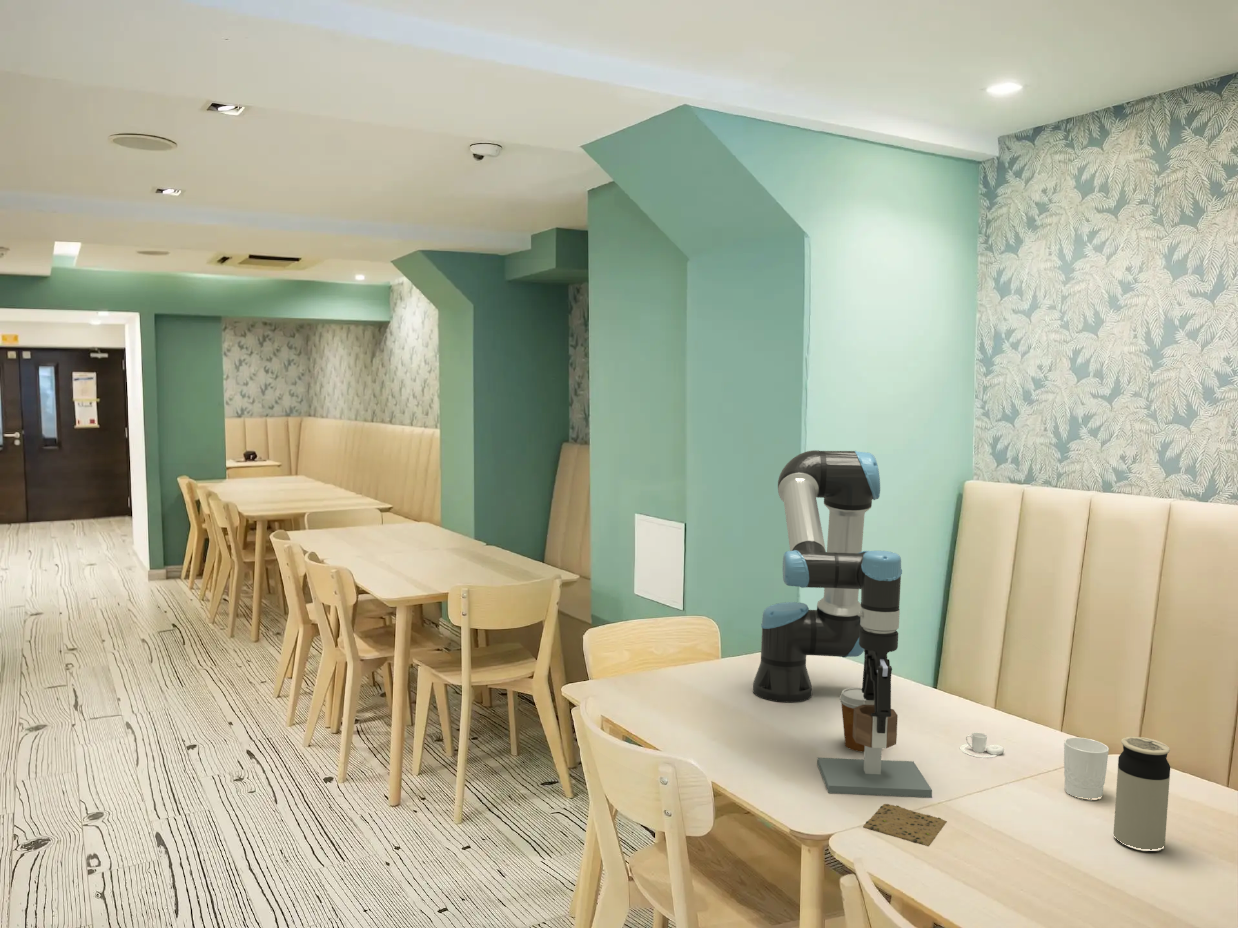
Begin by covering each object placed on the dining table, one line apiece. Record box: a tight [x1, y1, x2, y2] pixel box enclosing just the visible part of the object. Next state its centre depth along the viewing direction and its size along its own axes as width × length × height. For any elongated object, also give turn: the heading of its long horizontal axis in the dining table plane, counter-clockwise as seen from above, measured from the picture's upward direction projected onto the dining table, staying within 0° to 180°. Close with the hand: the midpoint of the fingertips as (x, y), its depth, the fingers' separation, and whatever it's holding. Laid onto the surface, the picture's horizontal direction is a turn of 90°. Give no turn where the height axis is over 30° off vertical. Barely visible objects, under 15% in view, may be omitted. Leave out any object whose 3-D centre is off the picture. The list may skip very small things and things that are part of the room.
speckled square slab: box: [862, 803, 948, 847], centre depth 170 cm, size 12×12×1 cm
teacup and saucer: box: [959, 731, 1005, 759], centre depth 206 cm, size 9×8×4 cm
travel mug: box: [1113, 736, 1171, 850], centre depth 164 cm, size 8×8×18 cm
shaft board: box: [816, 746, 933, 798], centre depth 189 cm, size 14×20×10 cm
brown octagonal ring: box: [853, 705, 899, 749], centre depth 188 cm, size 8×8×6 cm
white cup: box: [1063, 736, 1110, 799], centre depth 184 cm, size 8×8×10 cm
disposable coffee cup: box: [839, 687, 866, 753], centre depth 206 cm, size 10×10×12 cm
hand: (874, 738), depth 188 cm, fingers closed on brown octagonal ring, 8 cm apart
